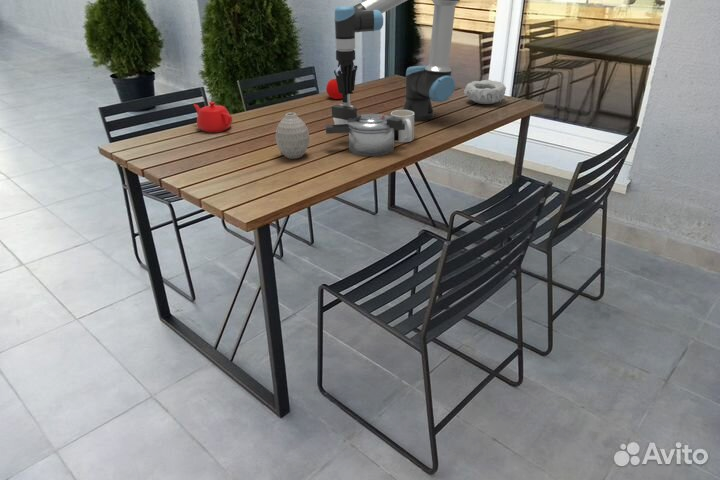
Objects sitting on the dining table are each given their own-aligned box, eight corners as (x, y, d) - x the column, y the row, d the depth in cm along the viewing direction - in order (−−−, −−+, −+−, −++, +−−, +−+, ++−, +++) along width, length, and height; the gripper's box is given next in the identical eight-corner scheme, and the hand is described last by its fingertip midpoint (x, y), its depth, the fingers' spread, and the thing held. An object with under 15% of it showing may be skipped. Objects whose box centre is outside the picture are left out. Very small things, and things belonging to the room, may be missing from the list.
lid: (412, 122, 214) (412, 110, 212) (387, 135, 201) (387, 122, 198) (347, 111, 230) (347, 100, 227) (320, 122, 216) (319, 110, 214)
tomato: (348, 101, 285) (347, 80, 280) (326, 101, 286) (325, 81, 281) (349, 95, 296) (348, 75, 291) (327, 95, 296) (326, 76, 291)
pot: (399, 139, 228) (400, 116, 223) (407, 154, 212) (408, 129, 207) (325, 143, 225) (324, 119, 221) (328, 158, 209) (326, 133, 204)
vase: (297, 164, 205) (293, 120, 197) (270, 158, 211) (266, 115, 203) (317, 153, 214) (314, 111, 206) (291, 148, 221) (287, 107, 213)
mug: (417, 136, 231) (418, 110, 226) (410, 145, 221) (411, 118, 216) (394, 134, 234) (394, 108, 229) (386, 143, 224) (386, 116, 219)
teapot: (246, 129, 245) (243, 102, 240) (219, 138, 235) (215, 110, 229) (210, 120, 259) (206, 94, 253) (183, 128, 248) (178, 101, 242)
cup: (342, 133, 237) (341, 110, 232) (326, 127, 245) (324, 104, 240) (357, 129, 241) (356, 106, 237) (340, 123, 250) (339, 101, 245)
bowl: (511, 101, 279) (513, 81, 274) (497, 110, 264) (499, 89, 259) (472, 96, 289) (474, 77, 284) (457, 105, 274) (458, 85, 269)
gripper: (347, 46, 218) (348, 105, 230) (327, 51, 209) (330, 112, 220) (362, 47, 215) (363, 107, 226) (343, 53, 205) (345, 114, 216)
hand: (346, 109), depth 223 cm, fingers closed
